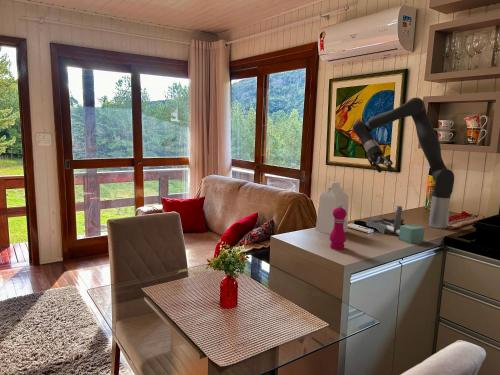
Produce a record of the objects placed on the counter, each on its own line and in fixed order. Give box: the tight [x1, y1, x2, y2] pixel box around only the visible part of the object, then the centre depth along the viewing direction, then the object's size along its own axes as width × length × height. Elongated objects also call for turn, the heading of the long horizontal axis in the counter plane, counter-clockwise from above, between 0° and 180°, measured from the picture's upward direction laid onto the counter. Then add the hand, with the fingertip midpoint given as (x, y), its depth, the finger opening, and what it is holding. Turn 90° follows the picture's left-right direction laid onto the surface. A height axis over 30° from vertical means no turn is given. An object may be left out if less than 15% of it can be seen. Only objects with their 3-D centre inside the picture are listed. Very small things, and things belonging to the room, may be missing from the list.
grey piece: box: [387, 205, 403, 235], centre depth 185 cm, size 3×18×14 cm, turn 26°
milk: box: [315, 181, 349, 235], centre depth 190 cm, size 12×12×26 cm
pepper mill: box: [329, 204, 347, 251], centre depth 164 cm, size 7×7×20 cm
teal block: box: [398, 223, 426, 244], centre depth 179 cm, size 9×7×7 cm
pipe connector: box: [378, 216, 406, 226], centre depth 202 cm, size 12×5×15 cm
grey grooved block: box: [365, 216, 394, 235], centre depth 197 cm, size 8×13×5 cm, turn 26°
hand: (386, 171), depth 201 cm, fingers open, 8 cm apart
